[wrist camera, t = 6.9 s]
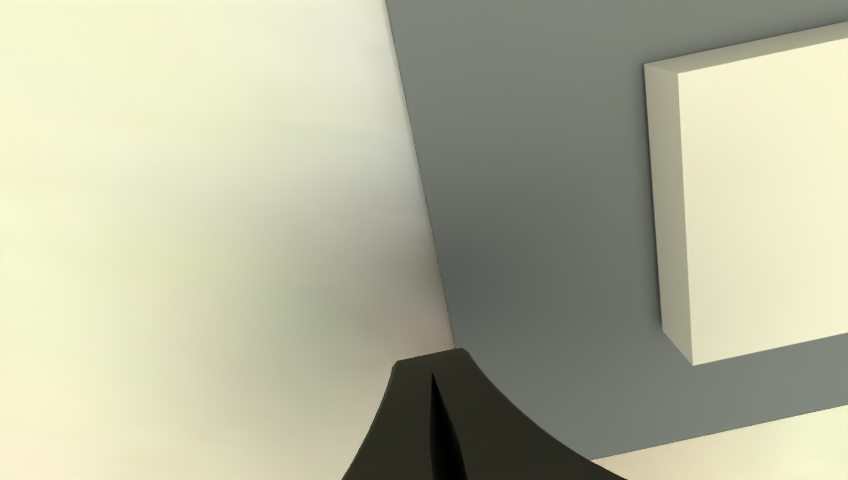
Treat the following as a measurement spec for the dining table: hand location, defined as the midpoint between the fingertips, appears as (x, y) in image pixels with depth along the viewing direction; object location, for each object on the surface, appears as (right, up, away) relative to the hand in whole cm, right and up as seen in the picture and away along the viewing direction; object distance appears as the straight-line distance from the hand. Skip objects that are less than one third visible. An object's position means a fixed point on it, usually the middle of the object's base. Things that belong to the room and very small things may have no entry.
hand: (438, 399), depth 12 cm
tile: (+6, +4, +5) cm, 9 cm away
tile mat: (+8, +5, +7) cm, 12 cm away
